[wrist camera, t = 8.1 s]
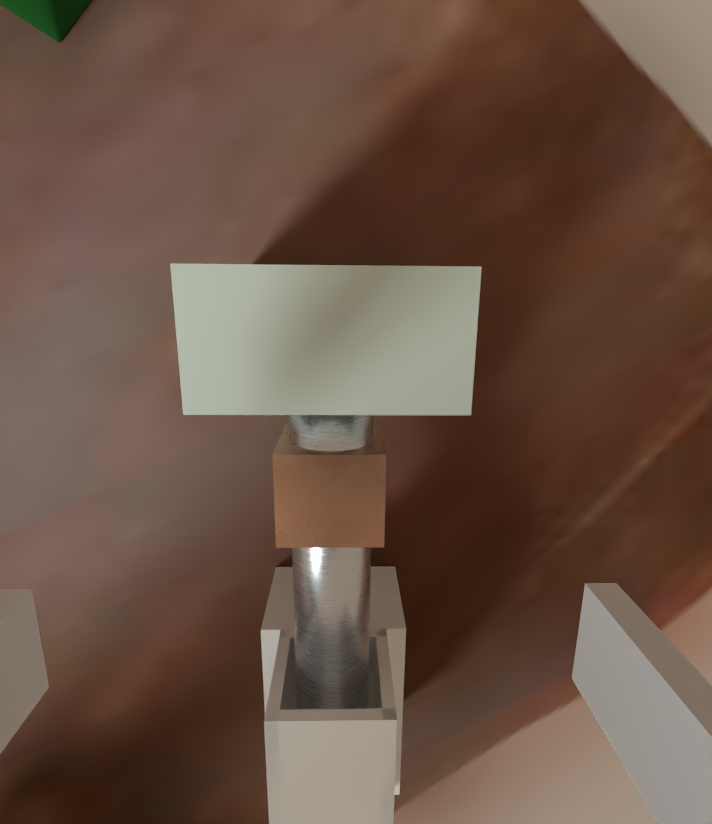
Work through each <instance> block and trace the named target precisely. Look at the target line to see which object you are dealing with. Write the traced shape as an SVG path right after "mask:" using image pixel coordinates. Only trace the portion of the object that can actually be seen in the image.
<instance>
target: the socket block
mask: <svg viewBox="0 0 712 824" xmlns="http://www.w3.org/2000/svg"><path fill="white" fill-rule="evenodd" d="M170 266H171V278H172V289H173V301H174V312H175V324H176V336H177V347H178V359H179V371H180V382H181V394H182V405H183V415H471V409H472V395H473V381H474V367H475V353H476V339H477V325H478V311H479V297H480V283H481V269H482V267H478V266H371V265H264V264H170Z"/></svg>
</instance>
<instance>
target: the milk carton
mask: <svg viewBox="0 0 712 824" xmlns="http://www.w3.org/2000/svg"><path fill="white" fill-rule="evenodd" d="M90 1H91V0H0V4H1V5H2V6H4V7H5V8H7V9H8V10H10V11H11V12H13V13H15V14H16V15H18V16H19V17H21V18H22V19H24V20H25V21H27V22H28V23H30V24H32V25H33V26H35V27H36V28H38V29H39V30H41V31H42V32H44V33H45V34H47V35H49V36H50V37H52V38H53V39H54V40H56V41H57V42H59V43H60V42H61V40H62V39H63V37H64V36H65V35H66V33H67V32H68V31H69V29H70V28H71V27H72V25H73V24H74V23H75V21H76V20H77V18H78V17H79V16H80V14H81V13H82V12H83V10H84V9H85V8H86V6H87V5H88V3H89V2H90Z"/></svg>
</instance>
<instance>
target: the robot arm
mask: <svg viewBox="0 0 712 824" xmlns="http://www.w3.org/2000/svg"><path fill="white" fill-rule="evenodd" d="M572 680H573V681H574V683H575V685H576V686H577V688H578V690H579V692H580V693H581V695H582V697H583V698H584V700H585V702H586V703H587V705H588V707H589V708H590V710H591V712H592V714H593V715H594V717H595V719H596V720H597V722H598V724H599V725H600V727H601V729H602V731H603V732H604V734H605V736H606V737H607V739H608V741H609V742H610V744H611V746H612V747H613V749H614V751H615V753H616V754H617V756H618V757H619V759H620V761H621V763H622V764H623V766H624V768H625V769H626V771H627V773H628V775H629V776H630V778H631V780H632V781H633V783H634V785H635V786H636V788H637V790H638V791H639V793H640V795H641V796H642V798H643V800H644V802H645V803H646V805H647V807H648V809H649V810H650V812H651V814H652V815H653V817H654V819H655V820H656V822H657V824H712V686H711V685H710V683H709V682H708V681H707V680H706V679H705V678H704V677H703V676H702V675H701V674H700V673H699V672H698V670H697V669H696V668H695V667H694V666H693V665H692V664H691V663H690V662H689V661H688V660H687V659H686V658H685V656H684V655H683V654H682V653H681V652H680V651H679V650H678V649H677V648H676V647H675V646H674V645H673V644H672V642H671V641H669V639H668V638H667V637H666V636H665V635H664V634H663V633H662V632H661V631H660V630H659V628H658V627H657V626H656V625H655V624H654V623H653V622H652V621H651V620H650V619H649V618H648V617H647V616H646V614H645V613H644V612H643V611H642V610H641V609H640V608H639V607H638V606H637V605H636V604H635V603H634V602H633V601H632V599H631V598H630V597H629V596H628V595H627V594H626V593H625V592H624V591H623V590H622V589H621V588H620V587H619V585H618V584H617V583H585V588H584V595H583V602H582V609H581V616H580V623H579V630H578V637H577V645H576V652H575V659H574V666H573V673H572ZM48 688H49V685H48V679H47V673H46V668H45V662H44V657H43V651H42V645H41V640H40V634H39V629H38V623H37V617H36V612H35V606H34V600H33V595H32V589H22V590H0V754H1V752H2V751H3V750H4V748H5V747H6V746H7V744H8V743H9V741H10V740H11V739H12V737H13V736H14V735H15V733H16V732H17V730H18V729H19V728H20V726H21V725H22V724H23V722H24V721H25V720H26V718H27V717H28V715H29V714H30V713H31V711H32V710H33V709H34V707H35V706H36V704H37V703H38V702H39V700H40V699H41V698H42V696H43V695H44V693H45V692H46V691H47V689H48Z"/></svg>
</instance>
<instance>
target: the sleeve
mask: <svg viewBox="0 0 712 824" xmlns="http://www.w3.org/2000/svg"><path fill="white" fill-rule="evenodd" d="M405 644H406V625H405V619H404V614H403V608H402V602H401V597H400V591H399V586H398V580H397V574H396V569H395V566H371V579H370V634H369V689H368V709H298V710H297V704H296V669H295V634H294V599H293V567H276V568H275V572H274V576H273V581H272V585H271V589H270V593H269V597H268V601H267V606H266V610H265V614H264V618H263V622H262V626H261V647H262V667H263V687H264V708H265V719H264V733H265V753H266V772H267V792H268V812H269V824H393V819H394V795H399V791H400V767H401V742H402V718H403V693H404V669H405Z"/></svg>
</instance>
